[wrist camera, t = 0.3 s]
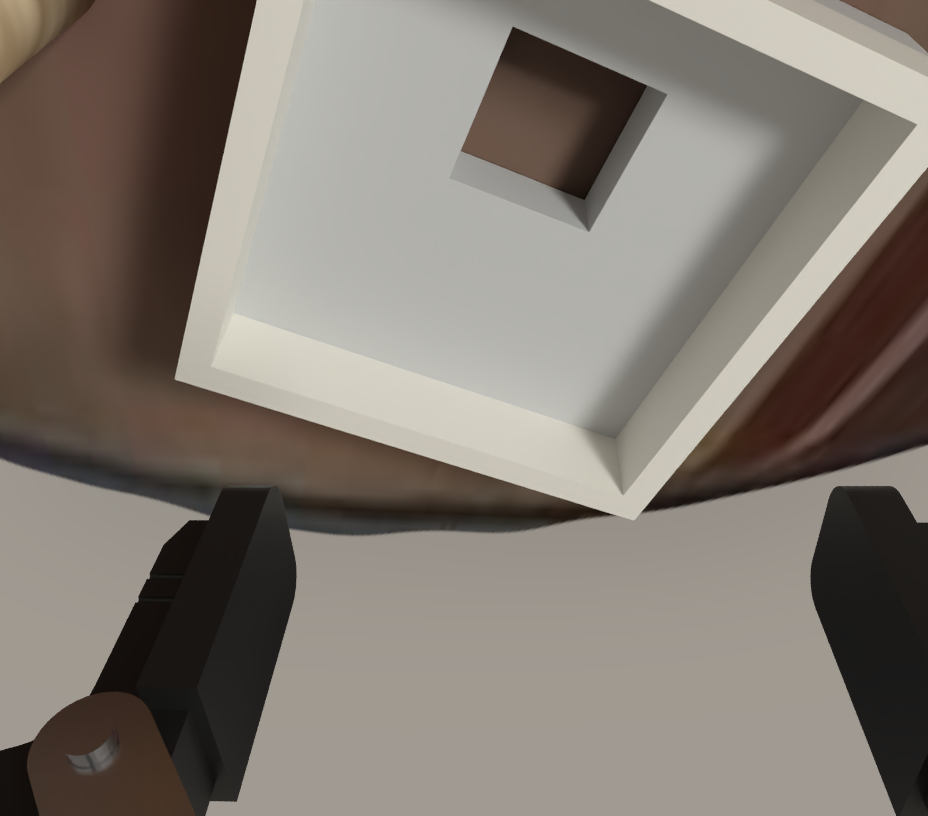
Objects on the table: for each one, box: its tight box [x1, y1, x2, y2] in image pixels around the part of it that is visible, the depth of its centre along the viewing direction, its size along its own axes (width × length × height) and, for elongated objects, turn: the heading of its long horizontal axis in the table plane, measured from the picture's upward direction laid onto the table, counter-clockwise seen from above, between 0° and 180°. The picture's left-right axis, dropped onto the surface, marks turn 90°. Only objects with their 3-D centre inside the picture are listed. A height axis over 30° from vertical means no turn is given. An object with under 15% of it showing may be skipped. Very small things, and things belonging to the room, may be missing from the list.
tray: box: [175, 0, 928, 520], centre depth 30 cm, size 20×20×6 cm
